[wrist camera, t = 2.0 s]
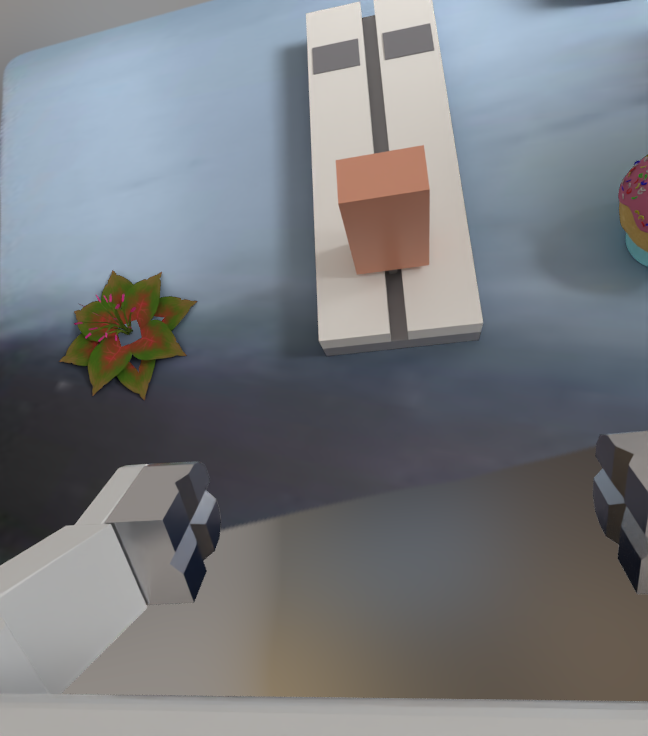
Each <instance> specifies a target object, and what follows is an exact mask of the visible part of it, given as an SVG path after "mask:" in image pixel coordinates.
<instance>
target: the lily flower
mask: <svg viewBox="0 0 648 736" xmlns="http://www.w3.org/2000/svg"><path fill="white" fill-rule="evenodd" d="M161 274H162V272H161V273H159V274H157V275H155V276H152V277H150V278H149V279H148V280H146V279H144V280H142V281H139V282H137V283H135V284H134V285H133V284H132V283H131V282H130V281H129V280H127V279H126V278H124V277H122V276H120V275H119V276H118V275H116V273H115V272H114V271H113V270H112V275H111V276H110V278H109V280H108V284H107V285H105V287H104V290H103V292H102V296H101V301H100V299H99V298H98V296H97V295H96V296H97V298H98V300H99V301H95V302H92V303H90V304H88V305H86V306H84V307H83V308H82V309H81V311H80V310H77V311H74V312H75V314H76V319H77V320H78V322H77V323H74V324H75V325H76V324H78V328H79V330H80V331H81V332H82V333H81V334H80V335H79V336H78V337H77V338H76V339H75V340H74V341H73V342H72V344H71V345H70V347H69V348H68V350H67V353H66V356H64V357H63V358H62V359H61V360H60V361H59V362H67V363H73V364H75V365H81V366H88V372H89V377H90V381H91V384H92V385H93V389H92V391H93V395H94V394H95V393H96V392H97V391H98V390H100V389H101V388H102V387H103V385H104V384H107V383H108V382H109V381H110V380H111V379H112V378H114V377H115V376H116V375H117V377H118V379H119V380H120V382H121V383H122V384H123V385H124V386H126V387H127V388H128V389H130V390H132V391H133V392H135V393H139V394H140V396H141V397H142V398H143V399H144V400H145V394H146V392H147V389H148V383H149V382H150V380H151V377H152V373H153V370H154V366H155V359H162V358H169V357H173V356H176V355H178V356H187V355H186V354H185V353H184V352H182V349H181V347H180V345H179V344H178V343H177V342H176V338H175V336H174V335H173V333H172V332H171V331H172V330H173V329H174V328H175V327H176V326H177V325H178V324H179V322H180V321H181V320H182V319H183V318H184V316H185V315H186V314H187V313H188V311H189V309H190V307H191V306H193V305H194V304H195V303H196V302H197V301H190V300H186V299H184V300H181V298H178V297H172V296H168V297H161V298H160V287H161V281H160V279H159V278H160V277H161ZM78 304H79V303H78ZM80 305H81V304H80ZM82 306H83V305H82ZM120 307H121V309H120ZM153 316H156V317H164V319H163V320H162V321H159V320H151V319H152V318H153ZM133 320H137V322H138V324H139V327H140V330H141V335H142V338H141V339H139V340H137V341H135V342H133V343H131V344H129V345H126V346H122V347H121V344H120V341H119V337H118V333H120V332H121V333H124V334H127V335H128V334H129V333H131V332H132V331H133V330H131V321H133ZM128 323H129V325H128ZM124 324H127V327H126V326H125V325H124ZM119 328H121V329H119ZM122 329H124V330H125V331H124V330H122ZM126 331H128V332H126ZM131 334H132V333H131ZM129 335H130V334H129ZM99 342H101V343H100V344H98V343H99ZM97 344H98V345H97ZM132 354H133V355H134V356H135V357H136V358H138V359H140V360H141V364H140V366H139V373H138V371H137V369H136V368H134V366H133V365H132V364H131V363H130V362H129V361H130V359H131V357H132Z"/></svg>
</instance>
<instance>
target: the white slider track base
mask: <svg viewBox="0 0 648 736" xmlns="http://www.w3.org/2000/svg"><path fill="white" fill-rule="evenodd" d="M374 9H375V15H373V16H369V17H364V18H362V14H361V6H360V2H356V3H351V4H347V5H343V6H338V7H334V8H329V9H325V10H320V11H316V12H311V13H307V14H306V24H307V50H308V76H309V101H310V127H311V153H312V179H313V204H314V230H315V256H316V281H317V307H318V333H319V342H320V344H321V346H322V348H323V350H324V352H325V354H326V355H327V356H332V355H342V354H351V353H360V352H370V351H379V350H389V349H398V348H408V347H417V346H426V345H436V344H445V343H455V342H464V341H474V340H479V338H480V334H481V330H482V326H483V318H482V312H481V306H480V299H479V293H478V287H477V280H476V274H475V268H474V261H473V255H472V249H471V242H470V236H469V230H468V224H467V217H466V211H465V205H464V198H463V192H462V186H461V179H460V173H459V167H458V160H457V154H456V148H455V142H454V135H453V129H452V123H451V116H450V110H449V104H448V97H447V91H446V85H445V78H444V72H443V66H442V60H441V53H440V47H439V41H438V34H437V28H436V22H435V15H434V9H433V3H432V0H374ZM421 145H424V150H425V158H426V165H427V173H428V180H429V188H430V226H429V265H426V266H419V267H411V268H404V269H397V273H396V274H389V271H381V272H373V273H366V274H358V275H357V273H356V269H355V266H354V262H353V258H352V254H351V250H350V247H349V243H348V239H347V235H346V231H345V228H344V224H343V220H342V216H341V213H340V209H339V205H338V192H337V175H336V160H340V159H346V158H351V157H357V156H363V155H369V154H375V153H381V152H386V151H392V150H398V149H404V148H410V147H416V146H421Z"/></svg>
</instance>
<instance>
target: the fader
mask: <svg viewBox="0 0 648 736" xmlns="http://www.w3.org/2000/svg"><path fill="white" fill-rule="evenodd" d="M336 175H337V192H338V205H339V209H340V213H341V216H342V220H343V224H344V228H345V231H346V235H347V239H348V243H349V247H350V250H351V254H352V258H353V262H354V266H355V269H356V273H357V275H358V274H366V273H373V272H381V271H389V274H396V273H397V269H404V268H411V267H419V266H426V265H429V226H430V188H429V180H428V173H427V165H426V158H425V150H424V145H421V146H416V147H410V148H404V149H398V150H392V151H386V152H381V153H375V154H369V155H363V156H357V157H351V158H346V159H340V160H336Z"/></svg>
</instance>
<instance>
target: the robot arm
mask: <svg viewBox="0 0 648 736" xmlns="http://www.w3.org/2000/svg"><path fill="white" fill-rule="evenodd" d="M596 458H597V459H598V461H599V462H600V464H601V466H602V468H603V469H602V470H601V471H600V472H599V473H598V474H597V476H595V478H594V481H593V482H594V483H593V499H594V506H595V512H596V515H597V518H598V521H599V524H600V526H601V528H602V530H603V532H604V534H605V536H606V537H608V538H609V539H611V540H612V541H614V542H615V543H617V544H619V550H618V560H619V562H620V564H621V566H622V568H623V569H624V571H625V573H626V575H627V577H628V578H629V580H630V582H631V584H632V586H633V588H634V590H635V591H636V593H637V594H648V431H638V432H626V433H614V434H602V435H600V436H599V439H598V441H597V446H596ZM209 482H210V478H209V475H208V472H207V469H206V466H205V465H204V464H202V463H201V462H178V463H157V464H139V465H126V466H123V467H121V468H118V470H117V471H116V472H115V474H114V475H113V476H112V477H111V479H110V480H109V481H108V483H107V484H106V485H105V486H104V488H103V489H102V490H101V492H100V493H99V494H98V495H97V497H96V498H95V499H94V501H93V502H92V503H91V504H90V506H89V507H88V508H87V510H86V511H85V512H84V513H83V515H82V516H81V517H80V519H79V520H78V521H77V522H76V524H75V525H72V526H65V527H63V528H62V529H60V530H58V531H57V532H55V533H53V534H52V535H50V536H49V537H47V538H45V539H44V540H42V541H40V542H39V543H37V544H35V545H34V546H32V547H30V548H29V549H27V550H25V551H24V552H22V553H20V554H19V555H17V556H16V557H14V558H12V559H11V560H9V561H7V562H6V563H4V564H2V565H1V566H0V736H648V701H647V702H646V701H645V702H644V701H568V700H565V701H564V700H486V699H484V700H481V699H410V698H407V699H406V698H404V699H403V698H332V697H331V698H329V697H327V698H325V697H255V696H253V697H252V696H175V695H168V696H167V695H94V694H61V693H62V692H63V691H64V690H65V689H66V688H67V687H68V686H69V685H70V684H71V683H73V681H75V680H76V679H77V678H78V676H80V675H81V674H82V672H84V671H85V669H87V668H88V667H89V665H91V664H92V662H94V661H95V660H96V659H97V658H98V657H99V656H100V655H101V653H102V652H104V651H105V650H106V649H107V648H108V647H109V646H110V645H111V644H112V643H113V642H114V641H115V639H117V638H118V637H119V636H120V635H121V634H122V633H123V632H124V631H125V629H127V628H128V627H129V626H130V625H131V624H132V622H134V621H135V620H136V618H137V617H139V616H140V615H141V614H142V613H143V612H144V611H145V609H147V605H160V604H178V603H179V604H180V603H194V602H195V599H196V597H197V594H198V592H199V589H200V587H201V584H202V582H203V579H204V577H205V574H206V572H207V570H206V567H205V564H204V560H205V559H206V558H207V557H208V556H209V555H211V554H212V553H213V552H214V551H215V549H216V546H217V543H218V540H219V537H220V528H221V517H220V510H219V506H218V503H217V499H215V498H214V497H213V496H212V495H211V494H210V493H208V492H207V491H206V488H207V486H208V484H209Z"/></svg>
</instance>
